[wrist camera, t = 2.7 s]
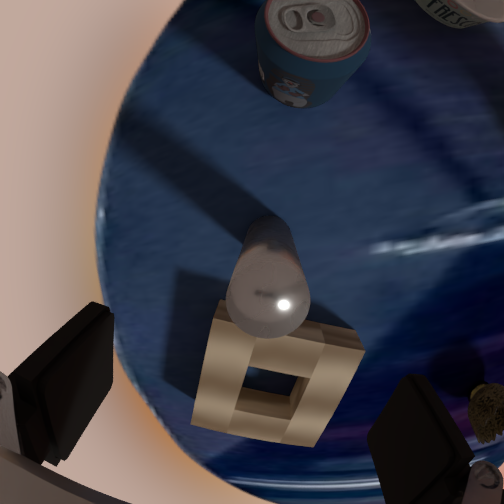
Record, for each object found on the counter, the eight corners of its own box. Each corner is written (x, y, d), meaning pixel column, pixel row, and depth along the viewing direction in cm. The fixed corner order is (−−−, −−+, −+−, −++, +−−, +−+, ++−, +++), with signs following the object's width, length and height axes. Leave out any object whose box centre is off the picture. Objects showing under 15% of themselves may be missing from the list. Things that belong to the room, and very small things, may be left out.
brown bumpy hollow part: (485, 402, 33) (509, 435, 25) (448, 413, 33) (470, 451, 26) (502, 363, 31) (531, 394, 23) (464, 373, 31) (492, 410, 24)
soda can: (327, 38, 23) (359, -30, 12) (345, 105, 25) (395, 67, 13) (252, 47, 24) (241, -22, 12) (268, 117, 25) (268, 79, 14)
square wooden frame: (220, 299, 30) (213, 317, 26) (355, 330, 30) (365, 351, 26) (197, 401, 34) (190, 424, 30) (310, 423, 34) (313, 447, 30)
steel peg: (252, 210, 28) (236, 252, 14) (296, 221, 28) (321, 273, 14) (242, 253, 29) (218, 327, 15) (284, 263, 29) (295, 346, 15)
